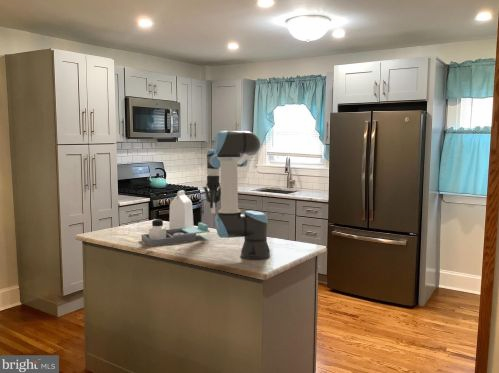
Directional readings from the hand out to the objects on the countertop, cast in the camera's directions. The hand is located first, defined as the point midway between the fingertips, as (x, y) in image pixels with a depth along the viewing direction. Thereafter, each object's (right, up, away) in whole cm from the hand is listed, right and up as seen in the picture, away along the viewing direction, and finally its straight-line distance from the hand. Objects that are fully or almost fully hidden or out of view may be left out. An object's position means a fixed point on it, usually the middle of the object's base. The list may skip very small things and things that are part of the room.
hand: (213, 213), depth 280 cm
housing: (-25, -15, -13) cm, 32 cm away
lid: (-10, -11, -5) cm, 16 cm away
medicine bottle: (-31, -15, -17) cm, 38 cm away
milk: (-21, -12, +12) cm, 28 cm away
